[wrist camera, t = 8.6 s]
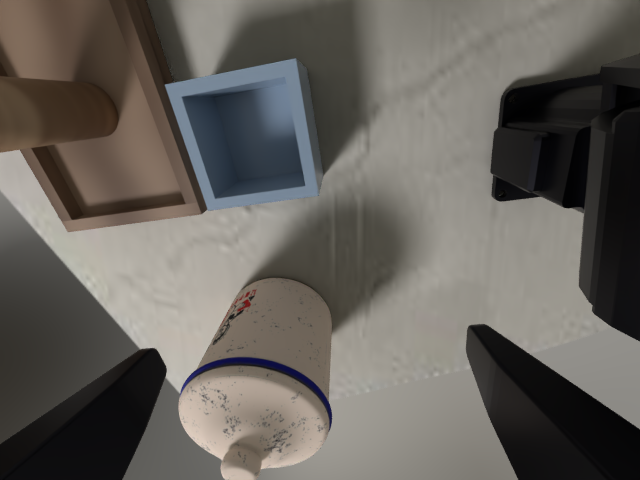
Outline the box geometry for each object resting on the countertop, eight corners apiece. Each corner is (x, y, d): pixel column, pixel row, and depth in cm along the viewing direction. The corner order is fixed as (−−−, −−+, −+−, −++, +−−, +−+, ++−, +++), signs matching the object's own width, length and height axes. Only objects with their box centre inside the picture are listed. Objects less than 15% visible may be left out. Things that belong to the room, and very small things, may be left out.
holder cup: (307, 68, 16) (295, 58, 12) (323, 175, 19) (318, 195, 15) (206, 88, 17) (164, 84, 13) (235, 188, 20) (208, 210, 16)
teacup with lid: (241, 258, 22) (152, 397, 12) (350, 292, 23) (358, 452, 13) (217, 360, 28) (140, 519, 17) (307, 385, 28) (286, 553, 18)
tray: (126, -57, 15) (96, -79, 13) (213, 204, 20) (201, 214, 19) (-35, -12, 16) (-83, -26, 14) (90, 221, 22) (67, 232, 20)
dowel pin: (103, 78, 16) (-183, 49, 7) (126, 132, 18) (-95, 165, 9) (58, 87, 17) (-267, 71, 8) (84, 140, 18) (-170, 179, 9)
